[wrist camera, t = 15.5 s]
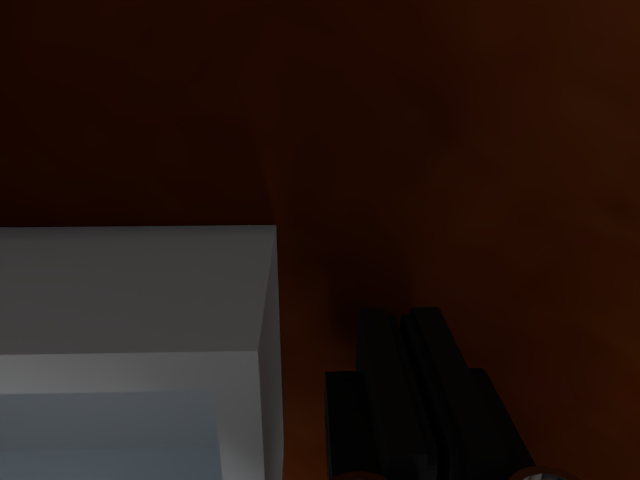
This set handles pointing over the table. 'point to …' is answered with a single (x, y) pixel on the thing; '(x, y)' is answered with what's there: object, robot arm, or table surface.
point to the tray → (140, 353)
